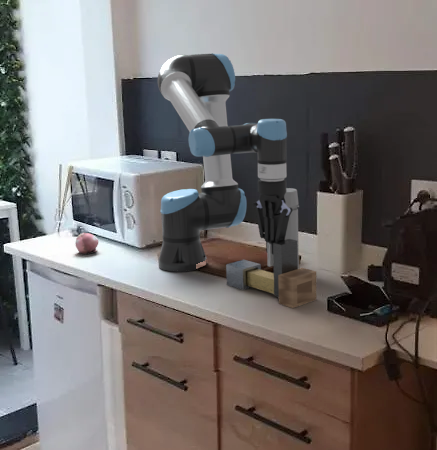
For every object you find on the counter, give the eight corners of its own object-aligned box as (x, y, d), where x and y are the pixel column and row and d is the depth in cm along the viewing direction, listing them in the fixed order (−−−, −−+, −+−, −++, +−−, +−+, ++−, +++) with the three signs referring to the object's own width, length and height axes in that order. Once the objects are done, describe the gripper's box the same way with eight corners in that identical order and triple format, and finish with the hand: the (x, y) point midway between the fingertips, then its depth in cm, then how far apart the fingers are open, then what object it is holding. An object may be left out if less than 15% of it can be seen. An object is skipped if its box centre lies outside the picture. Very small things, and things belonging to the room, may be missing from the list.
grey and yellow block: (238, 284, 201) (237, 234, 198) (254, 279, 205) (253, 230, 202) (293, 301, 186) (292, 247, 182) (309, 296, 189) (308, 243, 186)
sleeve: (226, 284, 205) (226, 264, 203) (244, 279, 209) (243, 259, 208) (243, 290, 200) (242, 269, 198) (261, 284, 204) (260, 264, 202)
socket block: (278, 303, 188) (278, 275, 186) (302, 295, 193) (302, 267, 192) (292, 308, 184) (292, 279, 182) (316, 299, 190) (316, 271, 188)
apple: (73, 256, 244) (69, 235, 245) (93, 254, 249) (89, 233, 250) (84, 253, 238) (81, 231, 239) (104, 250, 243) (101, 229, 244)
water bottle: (298, 276, 209) (297, 192, 204) (272, 276, 211) (270, 192, 205) (301, 267, 218) (300, 186, 212) (275, 267, 220) (274, 186, 214)
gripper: (245, 177, 190) (246, 263, 196) (278, 183, 181) (279, 273, 186) (265, 174, 195) (266, 257, 200) (299, 179, 186) (299, 267, 191)
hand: (272, 265), depth 193 cm, fingers closed
